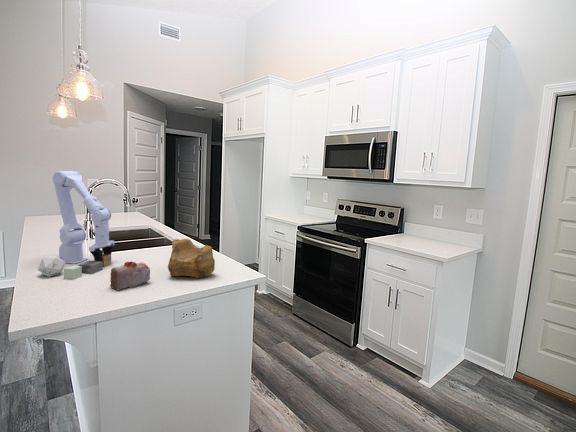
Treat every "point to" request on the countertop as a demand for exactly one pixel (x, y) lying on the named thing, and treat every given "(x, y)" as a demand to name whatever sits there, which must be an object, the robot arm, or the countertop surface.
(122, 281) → the food item
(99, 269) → the charcoal base block
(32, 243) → the countertop surface
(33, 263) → the countertop surface
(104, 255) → the walnut cube
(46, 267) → the pale gray rock
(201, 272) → the rough brown rock
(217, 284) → the countertop surface
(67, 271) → the sage cube
